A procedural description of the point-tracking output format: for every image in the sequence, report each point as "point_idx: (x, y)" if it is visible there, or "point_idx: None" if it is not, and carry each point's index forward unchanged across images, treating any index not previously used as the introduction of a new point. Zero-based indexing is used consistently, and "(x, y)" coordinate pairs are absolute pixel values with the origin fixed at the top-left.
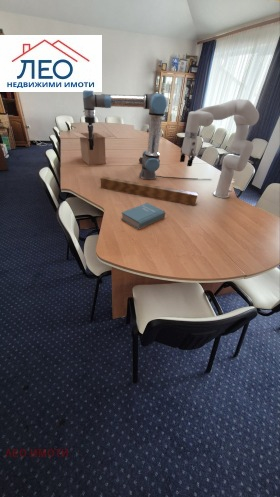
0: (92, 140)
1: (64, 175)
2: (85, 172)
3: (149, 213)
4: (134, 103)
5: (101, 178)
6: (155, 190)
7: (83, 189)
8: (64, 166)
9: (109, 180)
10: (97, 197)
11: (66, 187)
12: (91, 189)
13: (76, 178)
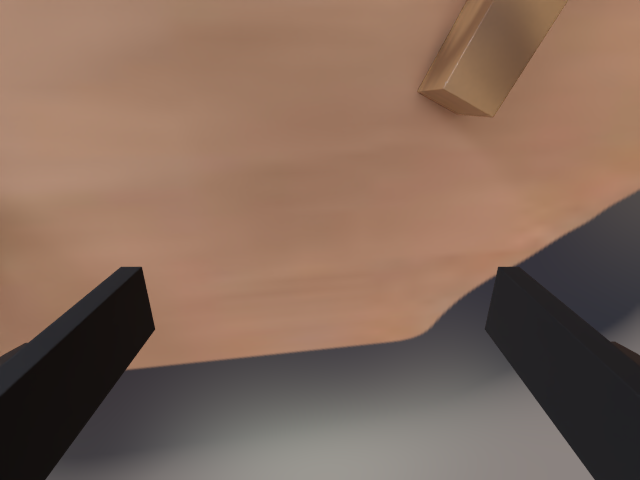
0: (71, 362)
1: (216, 359)
2: (122, 240)
3: None
4: None
5: (500, 104)
6: None
7: (469, 234)
8: None
9: (552, 18)
10: (629, 137)
11: (423, 328)
12: (477, 182)
13: (264, 289)
